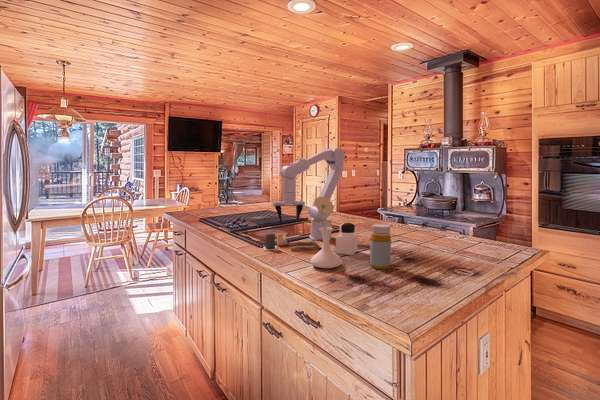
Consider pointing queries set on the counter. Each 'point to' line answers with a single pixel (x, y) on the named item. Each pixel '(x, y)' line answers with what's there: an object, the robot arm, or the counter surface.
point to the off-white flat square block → (269, 249)
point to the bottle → (380, 246)
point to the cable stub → (270, 240)
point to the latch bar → (281, 239)
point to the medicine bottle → (347, 239)
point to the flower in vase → (325, 237)
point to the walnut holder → (314, 247)
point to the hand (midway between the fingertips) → (288, 221)
